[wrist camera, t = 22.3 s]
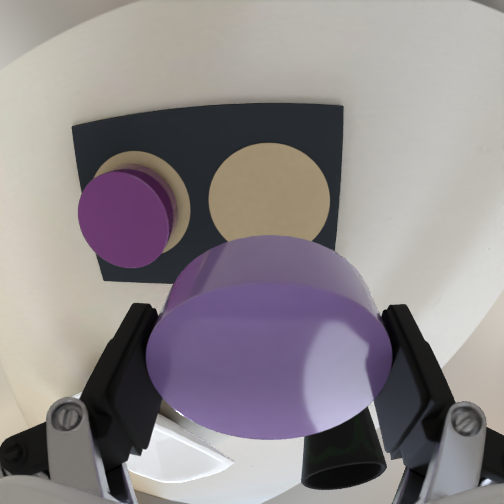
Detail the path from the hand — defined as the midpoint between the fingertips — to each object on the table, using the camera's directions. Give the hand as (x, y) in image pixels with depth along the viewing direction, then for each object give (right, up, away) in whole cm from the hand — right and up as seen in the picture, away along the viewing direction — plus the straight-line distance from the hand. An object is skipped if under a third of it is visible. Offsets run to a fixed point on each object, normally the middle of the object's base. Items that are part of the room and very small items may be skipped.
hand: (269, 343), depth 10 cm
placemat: (-4, +7, +13) cm, 15 cm away
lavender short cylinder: (0, +1, +1) cm, 1 cm away
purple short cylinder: (-9, +6, +12) cm, 17 cm away
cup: (+8, -11, +21) cm, 25 cm away
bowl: (-16, -21, +29) cm, 39 cm away
